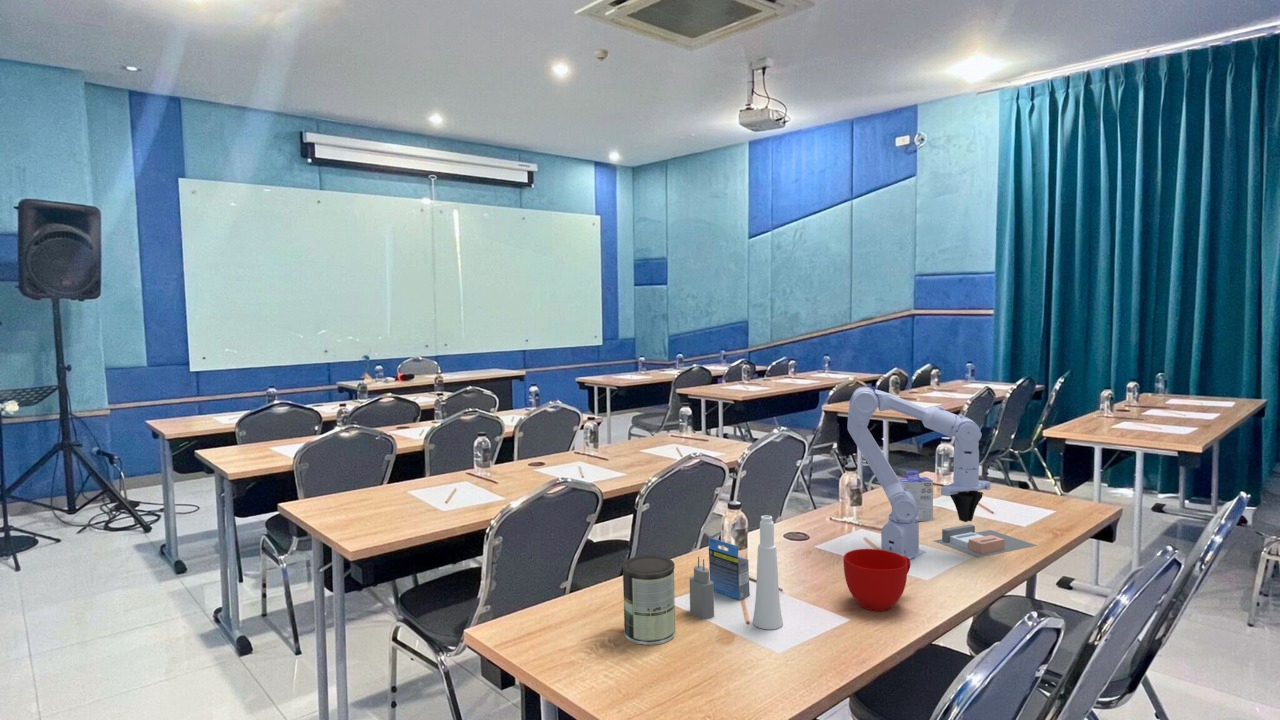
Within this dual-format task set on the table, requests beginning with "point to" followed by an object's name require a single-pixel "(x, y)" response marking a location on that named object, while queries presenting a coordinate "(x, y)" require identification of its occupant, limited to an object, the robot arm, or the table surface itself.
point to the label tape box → (728, 570)
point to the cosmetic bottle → (767, 580)
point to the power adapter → (701, 593)
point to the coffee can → (649, 599)
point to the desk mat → (1010, 545)
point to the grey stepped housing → (960, 535)
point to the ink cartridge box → (920, 493)
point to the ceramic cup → (876, 577)
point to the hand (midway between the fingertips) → (965, 520)
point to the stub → (986, 544)
